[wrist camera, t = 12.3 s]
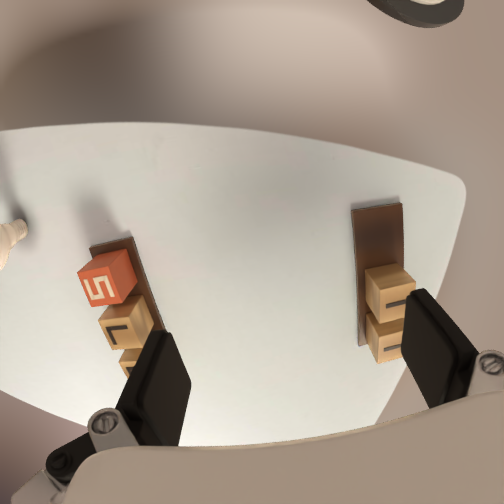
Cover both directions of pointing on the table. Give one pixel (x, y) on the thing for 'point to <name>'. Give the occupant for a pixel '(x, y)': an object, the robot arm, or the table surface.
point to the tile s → (108, 278)
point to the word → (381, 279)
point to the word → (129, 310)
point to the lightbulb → (10, 238)
